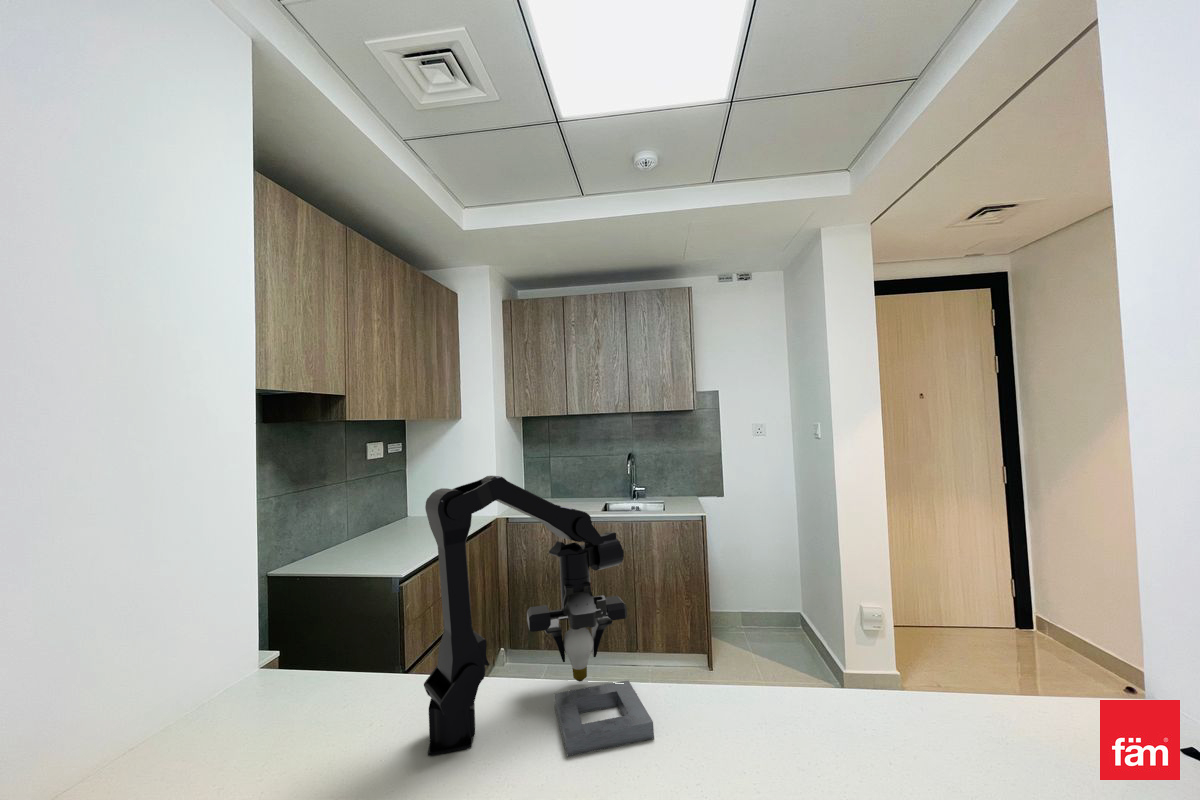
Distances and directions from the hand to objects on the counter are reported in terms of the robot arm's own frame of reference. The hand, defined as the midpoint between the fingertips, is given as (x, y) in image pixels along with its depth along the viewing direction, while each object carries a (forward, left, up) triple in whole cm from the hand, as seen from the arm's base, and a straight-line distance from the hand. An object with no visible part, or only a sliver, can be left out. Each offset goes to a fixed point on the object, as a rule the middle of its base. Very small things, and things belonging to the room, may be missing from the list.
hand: (579, 658), depth 93 cm
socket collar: (+1, -13, -5) cm, 14 cm away
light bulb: (0, 0, -4) cm, 4 cm away
